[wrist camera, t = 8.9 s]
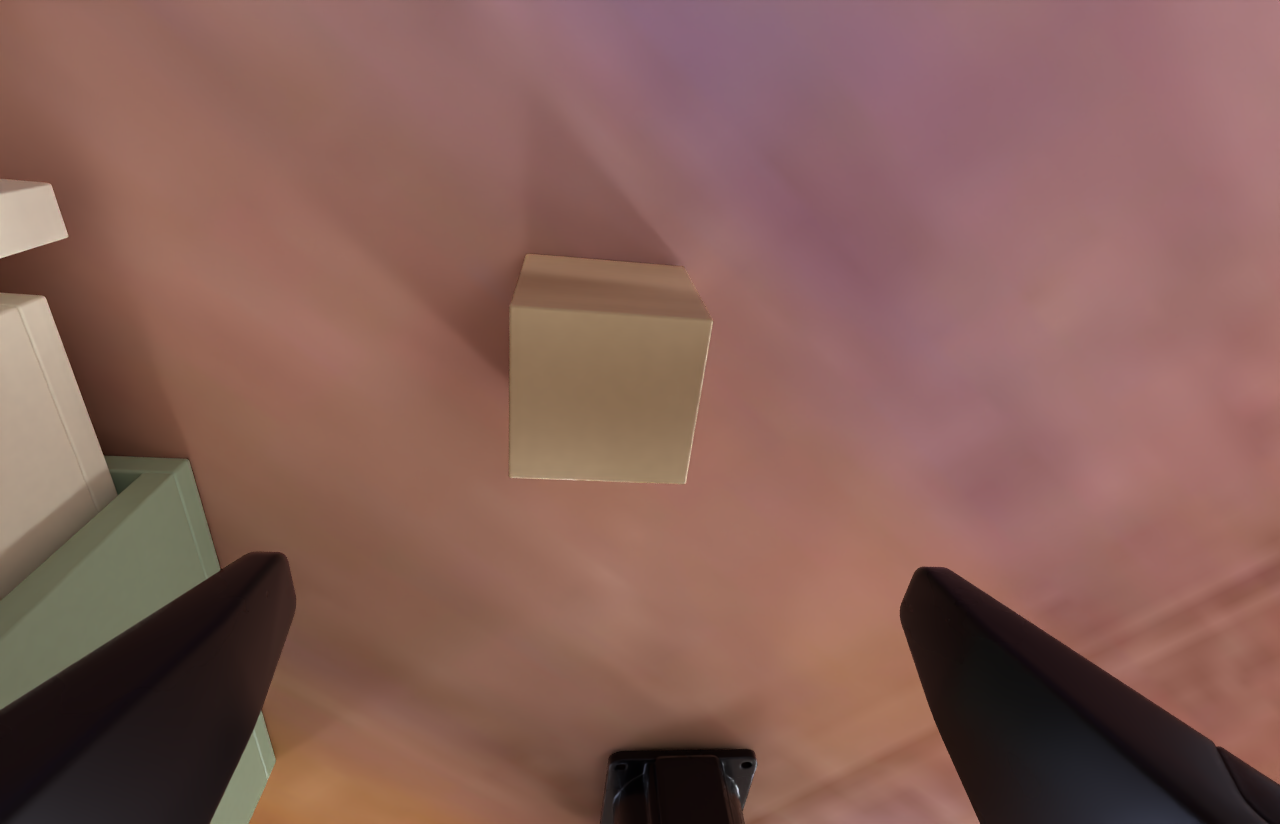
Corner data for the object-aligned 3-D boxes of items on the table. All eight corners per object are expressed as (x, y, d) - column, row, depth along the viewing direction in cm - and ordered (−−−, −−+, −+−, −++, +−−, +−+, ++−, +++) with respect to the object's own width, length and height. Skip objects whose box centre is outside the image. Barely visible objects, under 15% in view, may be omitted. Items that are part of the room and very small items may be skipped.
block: (665, 404, 18) (686, 485, 15) (523, 396, 18) (508, 478, 14) (684, 266, 16) (714, 319, 13) (525, 252, 16) (508, 304, 12)
